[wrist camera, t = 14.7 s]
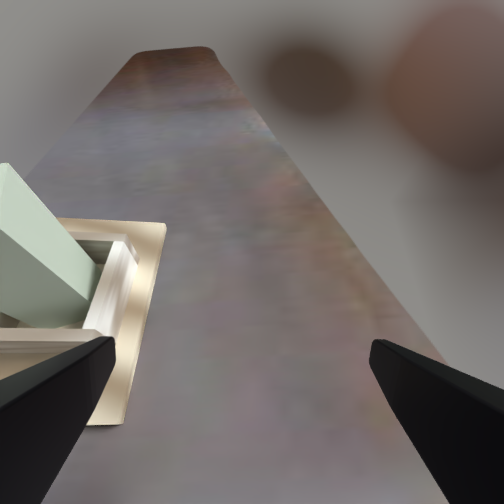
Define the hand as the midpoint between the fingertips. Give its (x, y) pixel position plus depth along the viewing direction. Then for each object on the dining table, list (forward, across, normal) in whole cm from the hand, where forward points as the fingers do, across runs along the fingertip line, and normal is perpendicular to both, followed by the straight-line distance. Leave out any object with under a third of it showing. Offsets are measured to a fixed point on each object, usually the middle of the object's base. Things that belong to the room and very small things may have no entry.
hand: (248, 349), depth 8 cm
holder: (+14, +14, +5) cm, 21 cm away
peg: (+14, +14, +4) cm, 20 cm away
